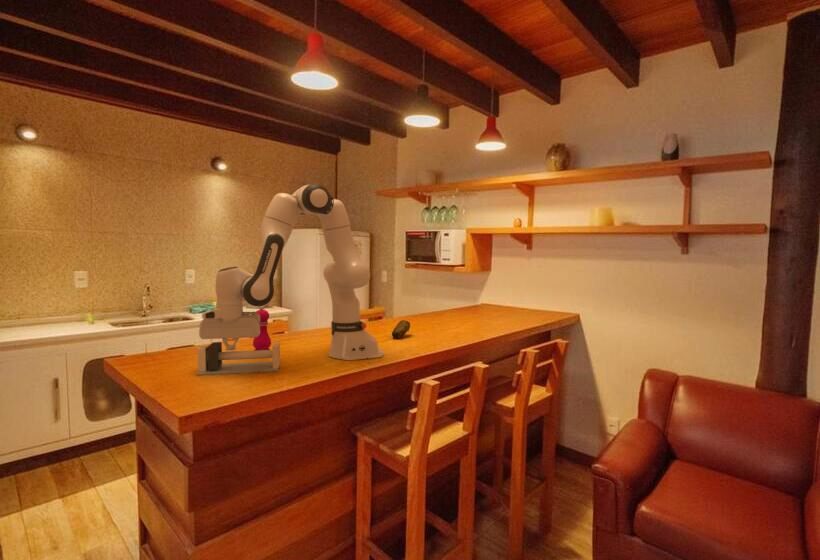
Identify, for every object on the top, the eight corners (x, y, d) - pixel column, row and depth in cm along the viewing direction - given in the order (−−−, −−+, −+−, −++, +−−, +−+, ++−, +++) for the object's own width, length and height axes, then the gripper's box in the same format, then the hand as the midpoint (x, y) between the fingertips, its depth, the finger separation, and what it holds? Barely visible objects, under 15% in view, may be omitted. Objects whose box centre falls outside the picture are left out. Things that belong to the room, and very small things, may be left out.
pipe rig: (280, 362, 168) (280, 340, 167) (277, 371, 156) (277, 347, 155) (204, 366, 162) (204, 343, 161) (196, 375, 150) (195, 350, 150)
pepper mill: (265, 356, 177) (264, 307, 176) (249, 355, 179) (248, 306, 177) (274, 352, 184) (273, 305, 183) (258, 351, 186) (258, 304, 184)
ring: (222, 363, 161) (221, 341, 161) (217, 369, 154) (216, 346, 153) (213, 364, 161) (212, 342, 160) (208, 370, 153) (207, 347, 152)
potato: (385, 337, 216) (385, 321, 216) (403, 334, 226) (403, 318, 225) (396, 340, 211) (396, 323, 210) (415, 336, 220) (415, 320, 219)
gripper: (261, 310, 162) (262, 346, 163) (201, 311, 158) (203, 349, 159) (259, 312, 156) (259, 350, 157) (197, 314, 152) (198, 353, 153)
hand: (230, 350), depth 158 cm, fingers closed
